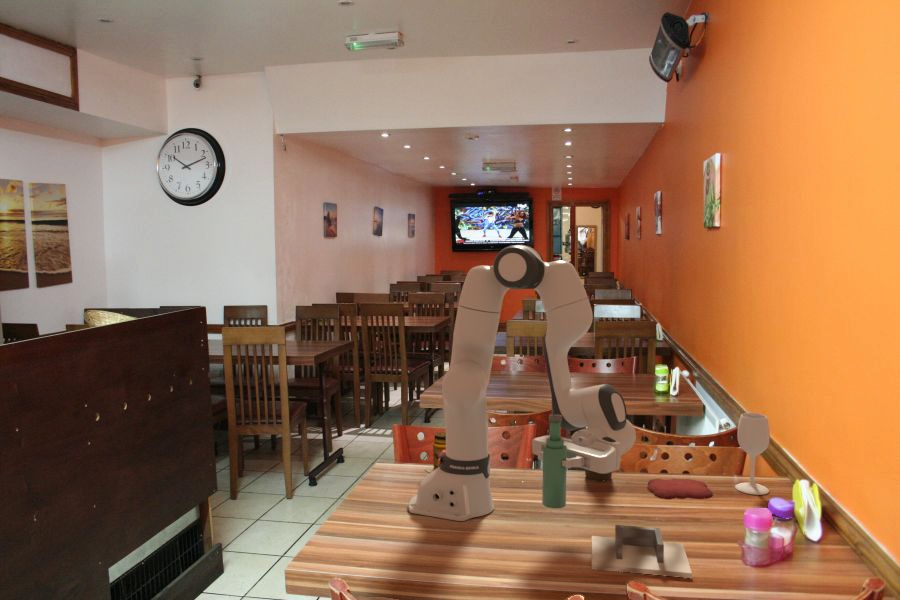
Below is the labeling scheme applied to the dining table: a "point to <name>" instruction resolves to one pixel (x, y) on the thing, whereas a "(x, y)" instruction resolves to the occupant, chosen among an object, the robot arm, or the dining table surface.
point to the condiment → (438, 449)
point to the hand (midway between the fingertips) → (552, 460)
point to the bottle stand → (639, 553)
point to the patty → (679, 488)
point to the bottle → (554, 466)
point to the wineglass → (753, 446)
